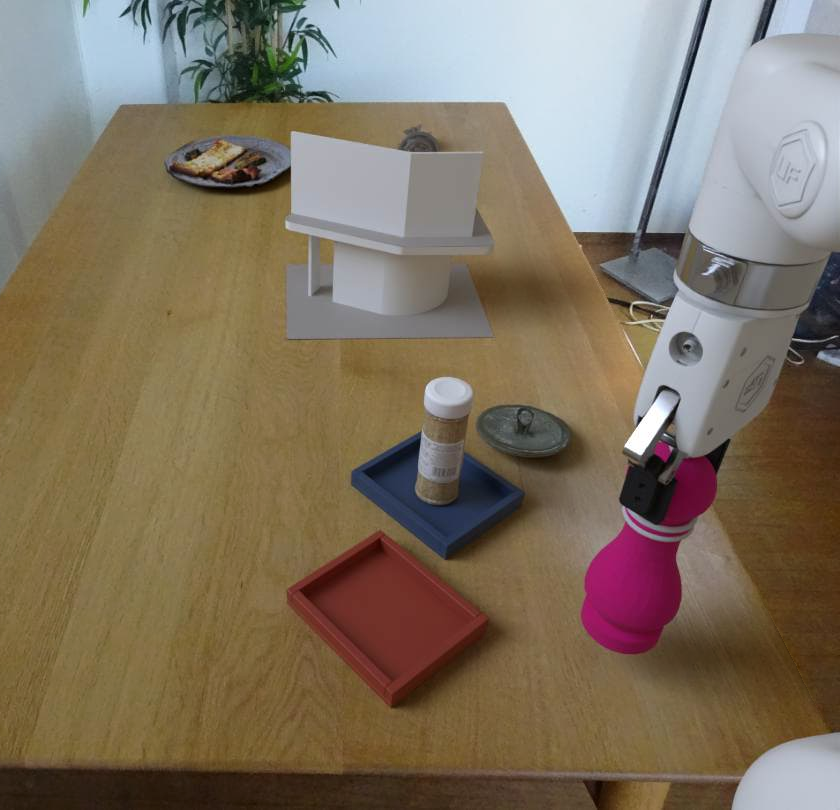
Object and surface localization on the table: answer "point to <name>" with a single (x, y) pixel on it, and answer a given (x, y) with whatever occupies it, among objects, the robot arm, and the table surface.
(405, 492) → the blue tray
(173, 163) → the food plate
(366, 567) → the red tray
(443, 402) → the sprinkles bottle
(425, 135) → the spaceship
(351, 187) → the architectural model
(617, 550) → the pepper mill
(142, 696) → the table surface
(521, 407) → the lid
